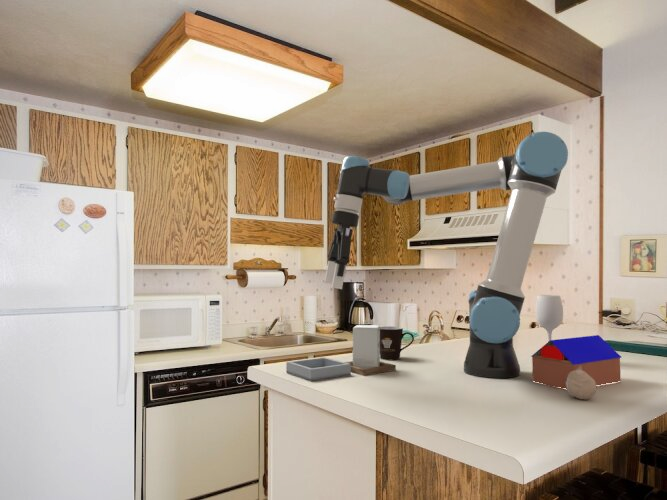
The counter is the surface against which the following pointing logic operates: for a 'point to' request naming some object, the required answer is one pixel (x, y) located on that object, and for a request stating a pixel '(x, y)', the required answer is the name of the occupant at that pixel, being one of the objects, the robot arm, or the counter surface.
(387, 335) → the coffee mug
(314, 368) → the grey tray
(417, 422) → the counter surface
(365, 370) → the walnut collar
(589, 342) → the house
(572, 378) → the garlic bulb
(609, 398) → the counter surface
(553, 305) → the wineglass
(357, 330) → the supplement box
